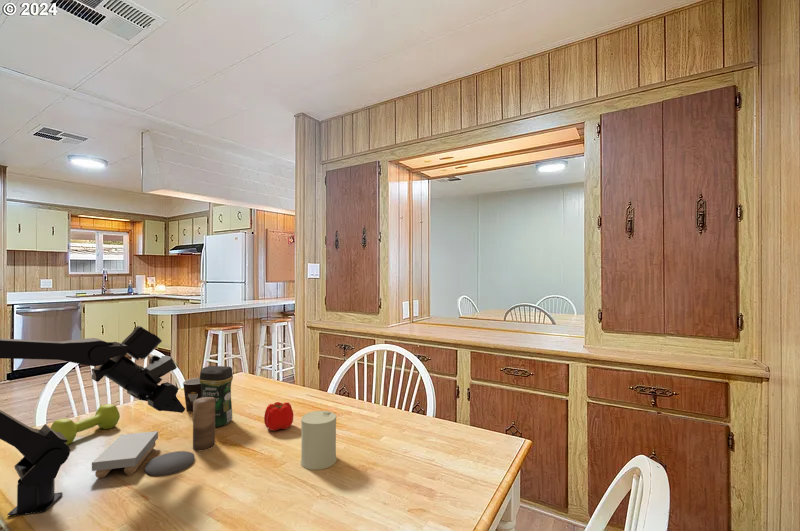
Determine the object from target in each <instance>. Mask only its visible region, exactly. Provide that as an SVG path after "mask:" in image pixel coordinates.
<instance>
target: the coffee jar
mask: <svg viewBox="0 0 800 531" xmlns="http://www.w3.org/2000/svg"><path fill="white" fill-rule="evenodd" d="M199 374H200V375H199V378H200V379H199V380H200V384H201V398H204V397H214V398H215V428H216V427H217V428H218V427H222V426H225V425H228V424H229V423H231V422H232V420H233V405H232V383H233V382H232V381H233V378H234V374H233V368H232V367H231V366H224V365H223V366H222V365H207V366H205V367H202V368H201V369H200V372H199Z"/></svg>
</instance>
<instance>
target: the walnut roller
mask: <svg viewBox="0 0 800 531" xmlns="http://www.w3.org/2000/svg"><path fill="white" fill-rule="evenodd" d="M215 446H216V427H215V398H214V397H204V398H199V399H196V400H194V401H193V412H192V450H193V451H199V452H202V451H207V450H210V449H212V448H213V447H215Z"/></svg>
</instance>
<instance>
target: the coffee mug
mask: <svg viewBox="0 0 800 531" xmlns="http://www.w3.org/2000/svg"><path fill="white" fill-rule="evenodd" d="M199 379H200V377H195V378H189V379H186V380H184V381H183V382H182V384H183V392H184V393H183V394H184V402H185V411H186V412H188V413H193V401H194V400H196V399H199V398H201V384H200V380H199Z"/></svg>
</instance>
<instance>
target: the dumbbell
mask: <svg viewBox="0 0 800 531" xmlns="http://www.w3.org/2000/svg"><path fill="white" fill-rule="evenodd" d="M120 417H121V415H120V412H119V409H118V407H117V406H116V405H115V404H114V403H113V404H111V403H106V404H103V405H100V406H99V407H98V409H97V410H96V412H95V415H94V416H90V417H86V418H84V419H81V420H79V421H76V422H75V421H73V420H72V419H70V418H59V419H56V420H54V421H53V422H52V424H51V426H50V427H49V428H50V429H52V430H53V431H55V432H60V433H61V434H62V435H63V436H64V437H65V438H66V439H67V440H68V441H67V442H65V443H66V444H67V445H68V446H69V445H71V444H72V443H73V442H74V440H75V438H76V436H77V434H78V433H81V432H83V431H87V430H88V429H89V430H90V429H91V428H94V427H96V426H98V427H99V428H100V429H103V430H110V429H112V428H115V427H116V426H117V424H118V422H119V420H120Z"/></svg>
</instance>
